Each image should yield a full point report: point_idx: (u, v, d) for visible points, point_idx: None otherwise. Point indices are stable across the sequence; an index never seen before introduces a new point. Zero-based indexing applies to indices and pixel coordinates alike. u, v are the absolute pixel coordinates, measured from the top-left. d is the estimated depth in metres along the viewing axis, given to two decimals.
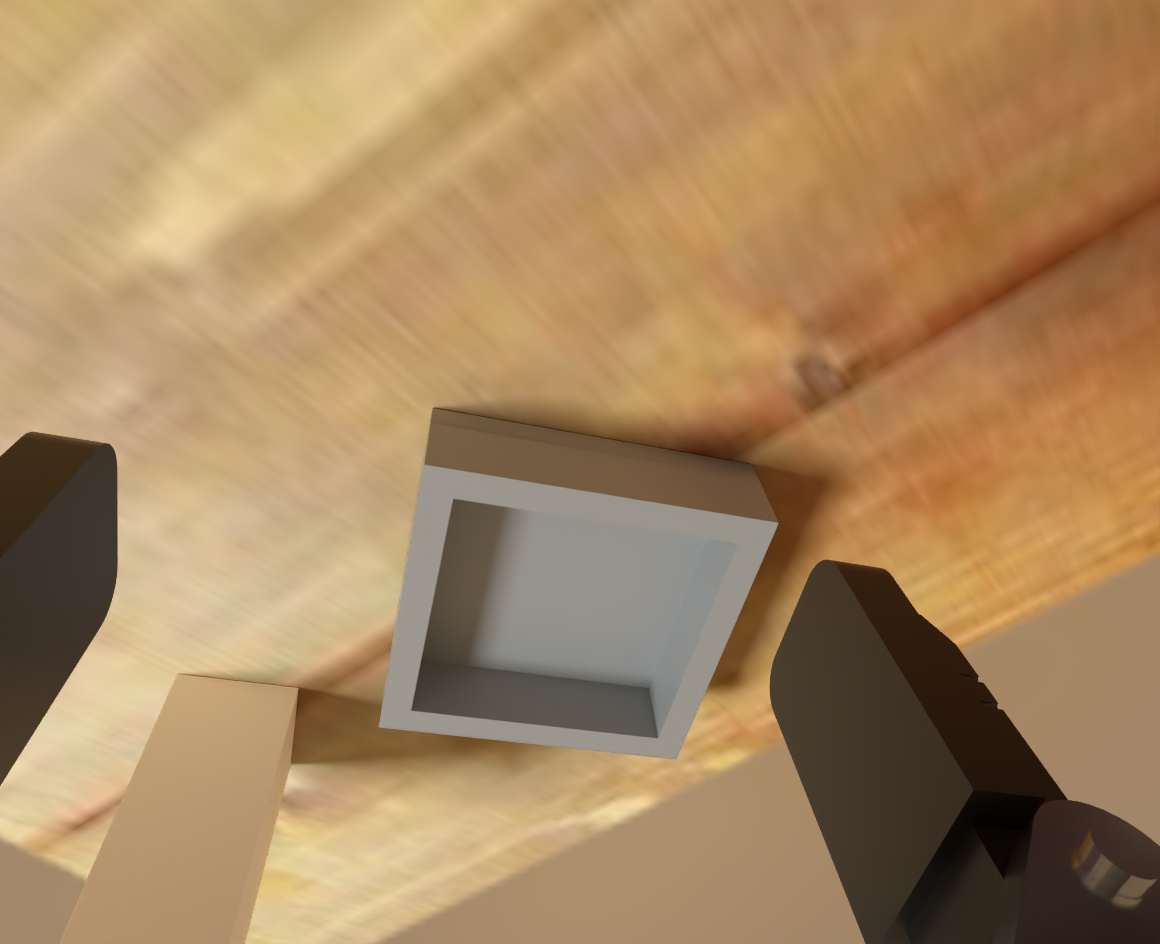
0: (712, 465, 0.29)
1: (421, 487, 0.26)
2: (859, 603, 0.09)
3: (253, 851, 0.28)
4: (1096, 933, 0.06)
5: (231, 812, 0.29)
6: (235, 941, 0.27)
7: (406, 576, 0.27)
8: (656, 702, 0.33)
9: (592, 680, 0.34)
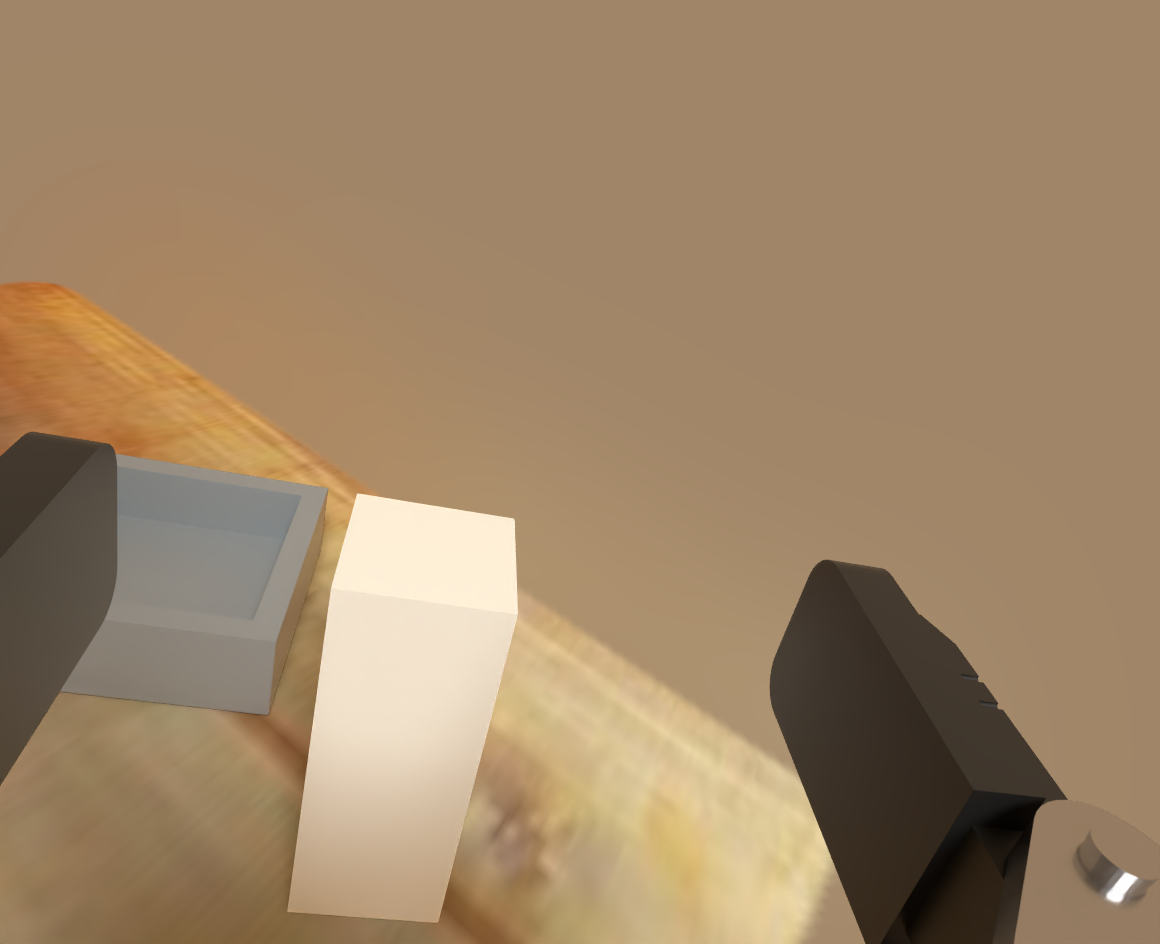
0: None
1: None
2: (859, 602, 0.09)
3: None
4: (1096, 932, 0.06)
5: None
6: None
7: None
8: (288, 518, 0.40)
9: None
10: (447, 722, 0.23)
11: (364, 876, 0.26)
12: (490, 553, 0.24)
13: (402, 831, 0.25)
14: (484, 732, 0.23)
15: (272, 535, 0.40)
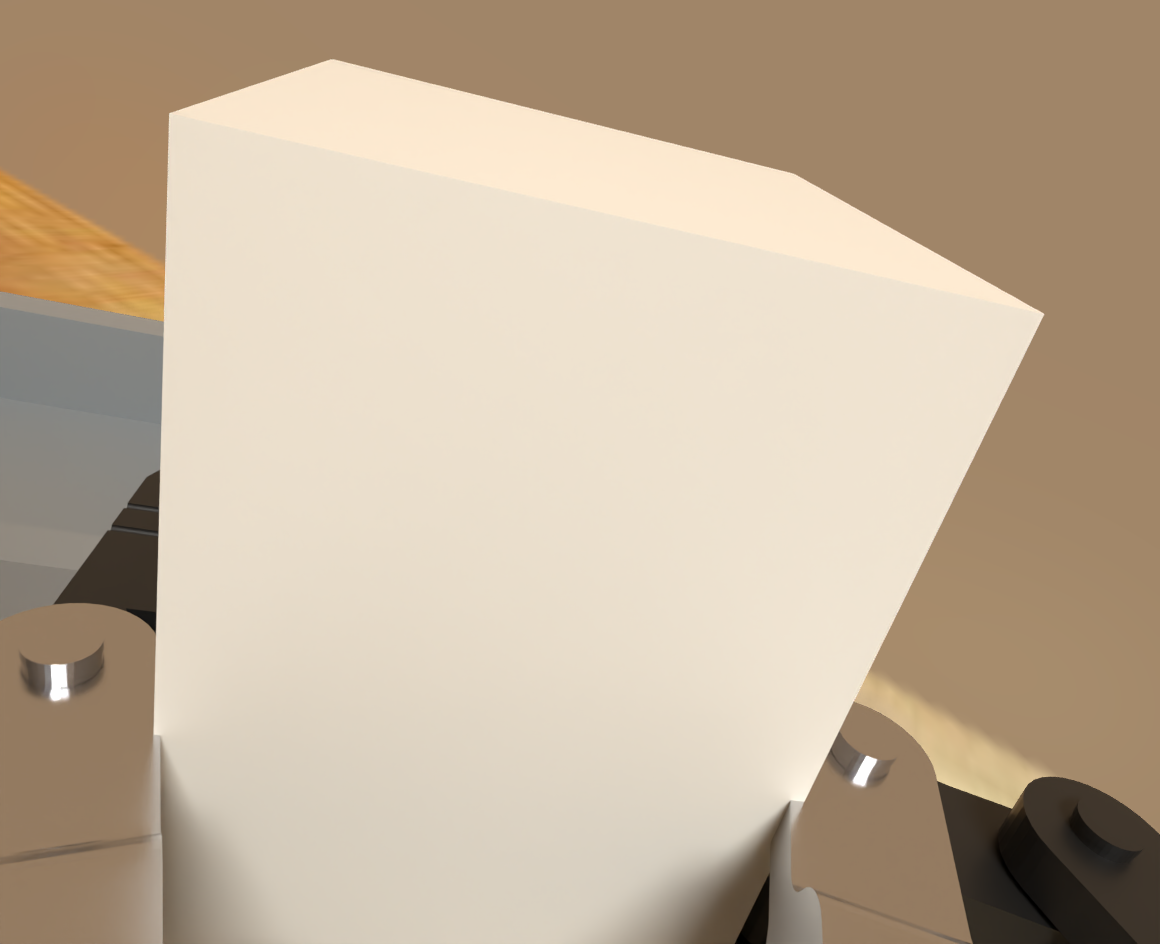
0: None
1: None
2: None
3: None
4: (819, 802, 0.06)
5: None
6: None
7: None
8: None
9: None
10: (663, 787, 0.06)
11: None
12: (790, 197, 0.07)
13: None
14: None
15: None
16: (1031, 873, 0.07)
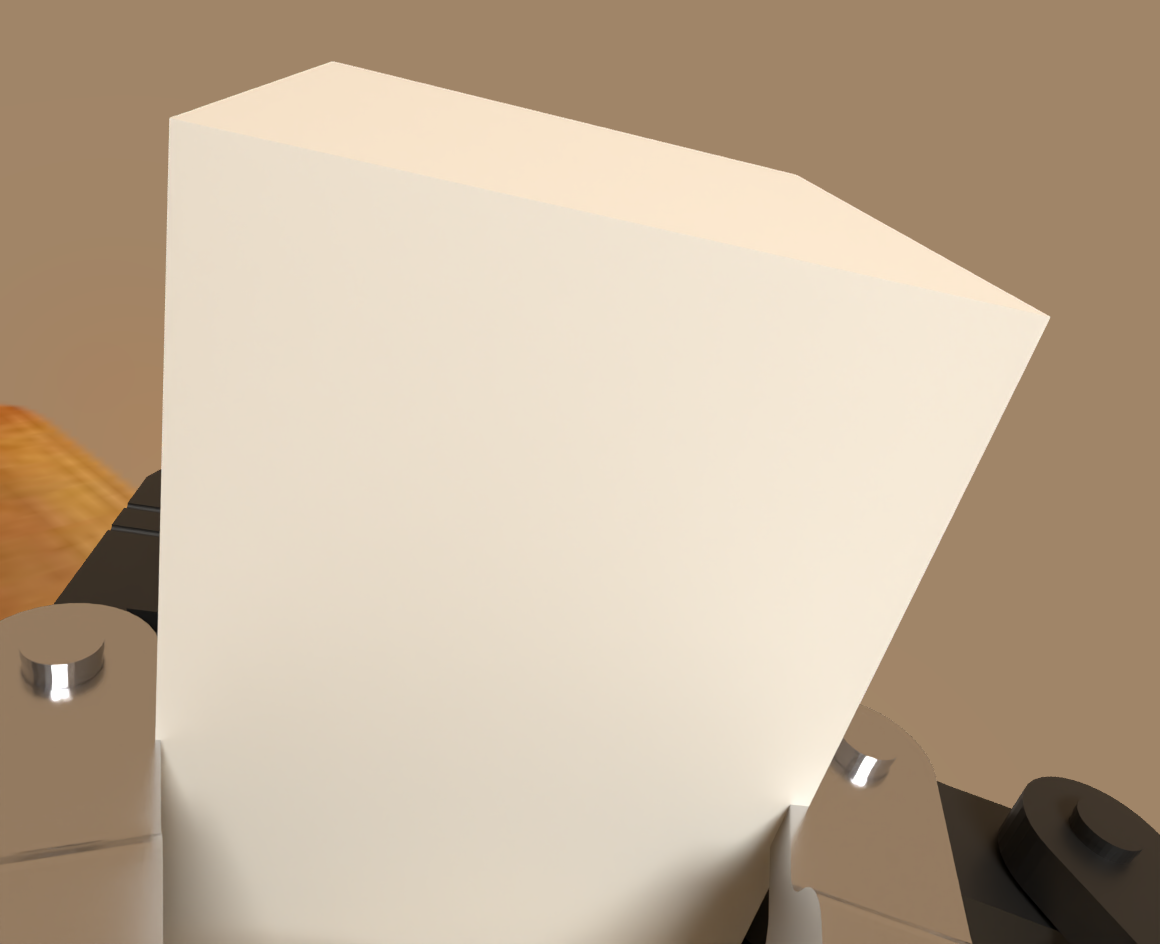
0: None
1: None
2: None
3: None
4: (819, 802, 0.06)
5: None
6: None
7: None
8: None
9: None
10: (666, 792, 0.06)
11: None
12: (793, 197, 0.07)
13: None
14: None
15: None
16: (1031, 873, 0.07)
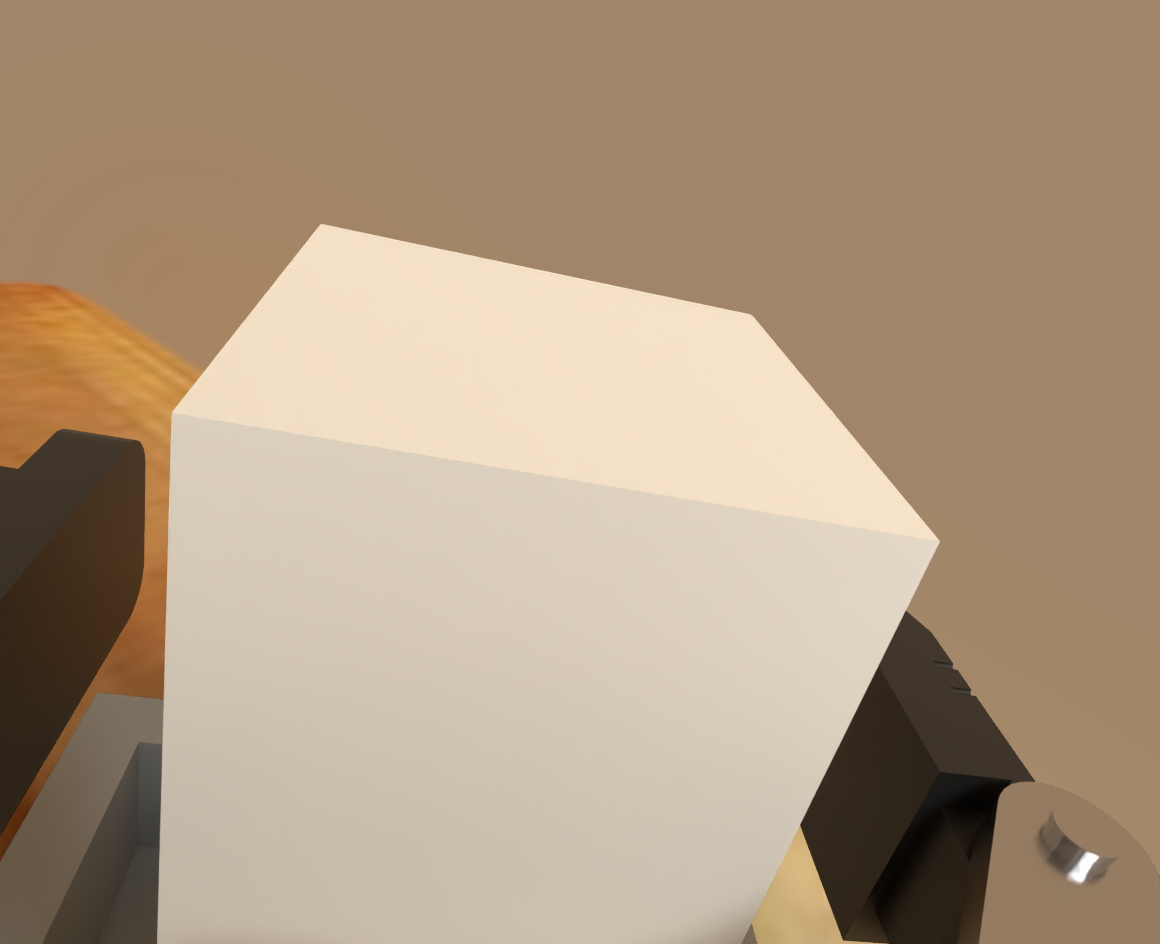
0: None
1: None
2: None
3: None
4: (1055, 909, 0.06)
5: None
6: None
7: None
8: None
9: None
10: (616, 921, 0.07)
11: None
12: (737, 371, 0.07)
13: None
14: None
15: None
16: None
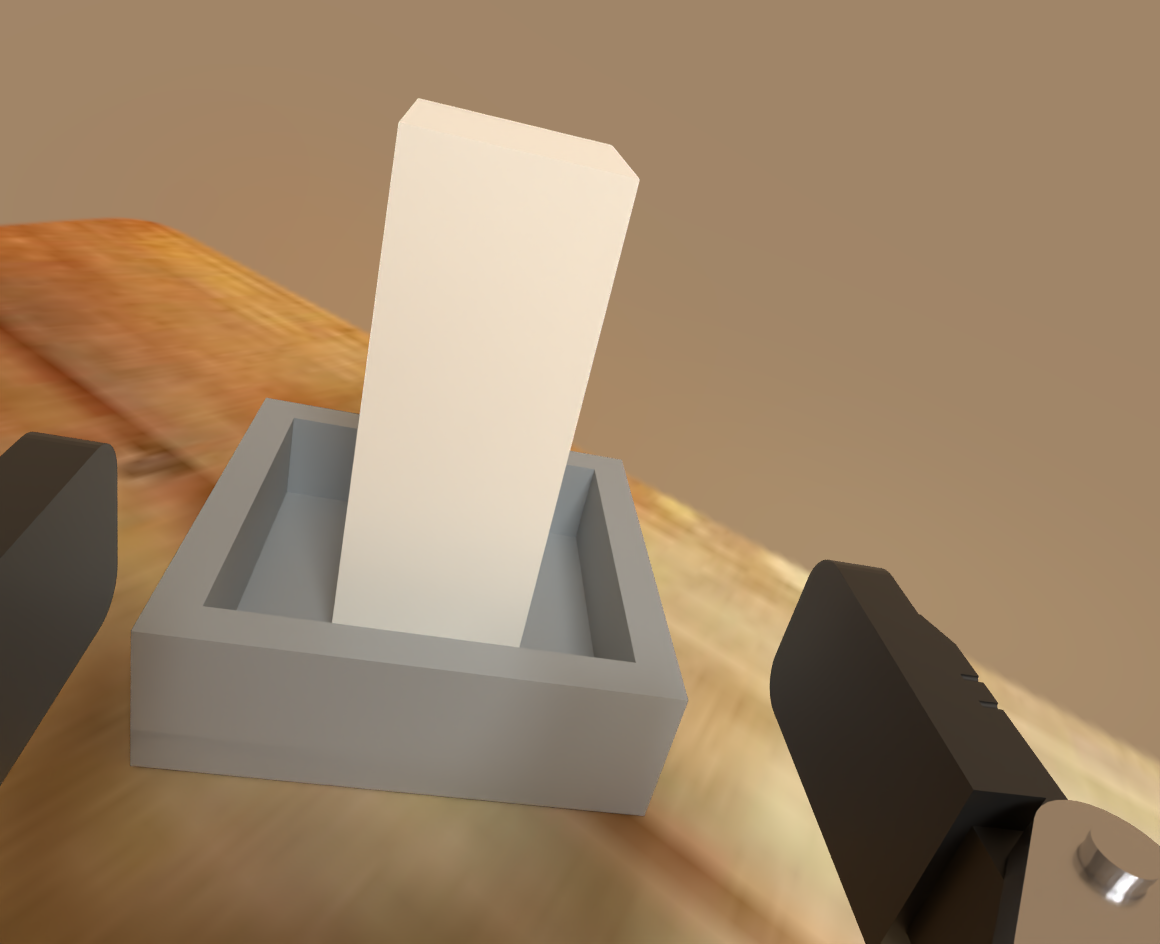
0: None
1: (176, 635, 0.17)
2: (859, 603, 0.09)
3: None
4: (1097, 933, 0.06)
5: None
6: None
7: (357, 657, 0.17)
8: (570, 503, 0.27)
9: (579, 576, 0.26)
10: (540, 354, 0.18)
11: (426, 595, 0.21)
12: (591, 150, 0.19)
13: (475, 525, 0.20)
14: (586, 372, 0.18)
15: None
16: None
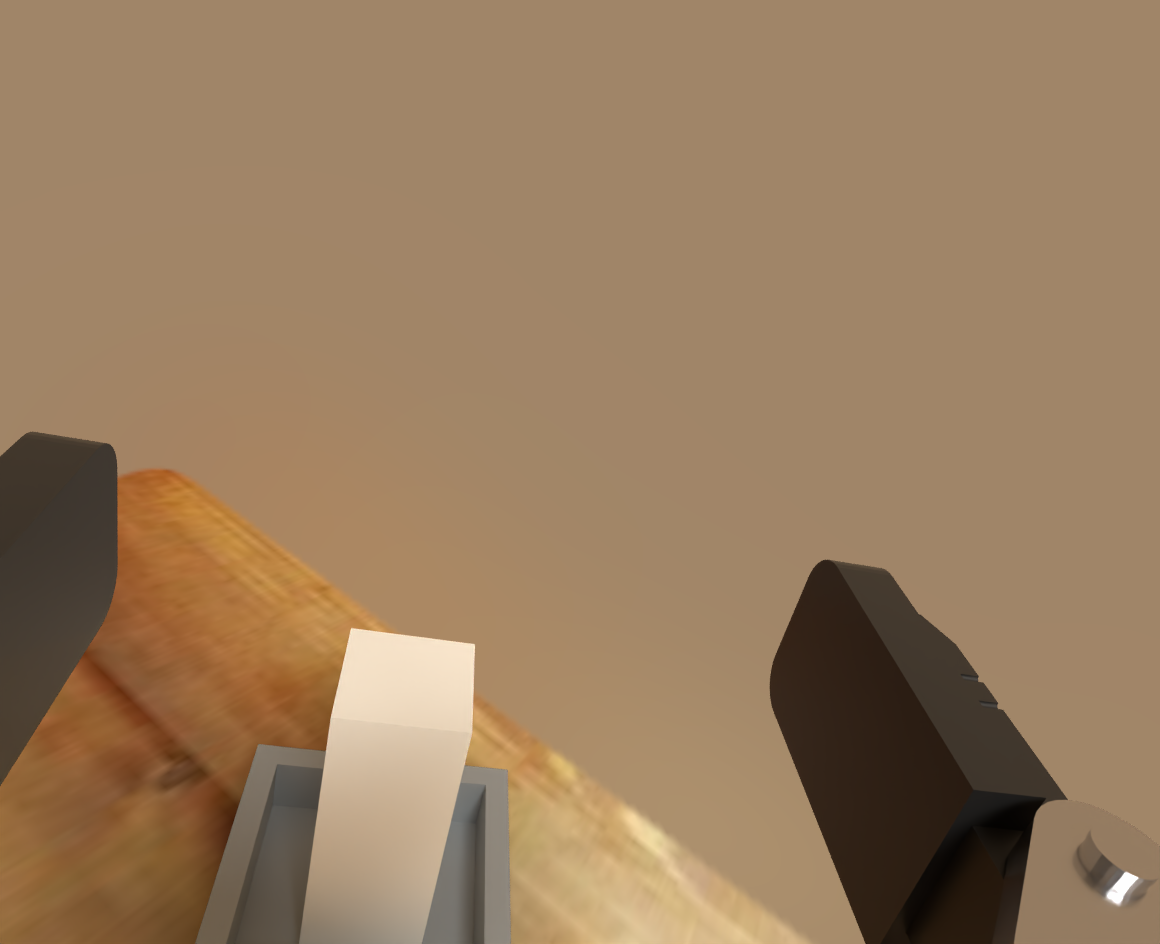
0: None
1: None
2: (859, 602, 0.09)
3: None
4: (1096, 933, 0.06)
5: None
6: None
7: None
8: (470, 804, 0.39)
9: (472, 866, 0.38)
10: (421, 810, 0.30)
11: (358, 927, 0.33)
12: (454, 678, 0.31)
13: (387, 891, 0.32)
14: (449, 818, 0.30)
15: (452, 819, 0.40)
16: None
